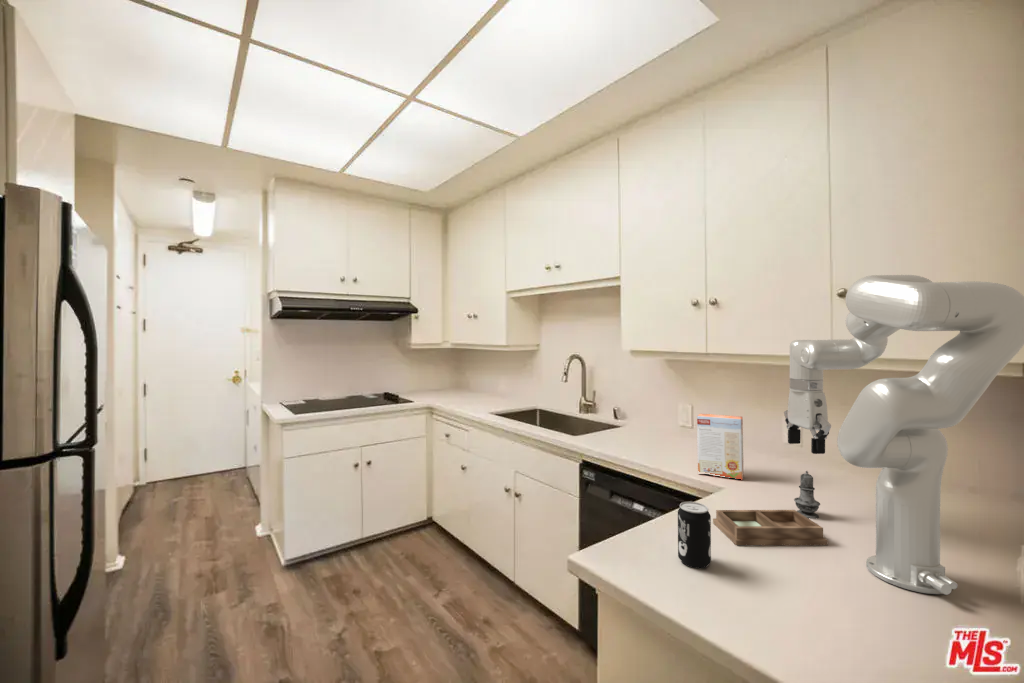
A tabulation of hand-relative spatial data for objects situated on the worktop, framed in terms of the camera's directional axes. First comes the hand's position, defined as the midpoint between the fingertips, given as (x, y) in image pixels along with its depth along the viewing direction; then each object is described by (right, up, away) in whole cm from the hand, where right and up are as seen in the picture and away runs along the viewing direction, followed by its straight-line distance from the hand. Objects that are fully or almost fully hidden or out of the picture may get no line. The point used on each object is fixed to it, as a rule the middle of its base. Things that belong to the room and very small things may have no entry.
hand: (805, 448), depth 116 cm
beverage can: (-40, -19, -23) cm, 50 cm away
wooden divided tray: (-17, -18, -11) cm, 27 cm away
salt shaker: (0, -18, 0) cm, 18 cm away
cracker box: (-7, -18, +33) cm, 38 cm away
